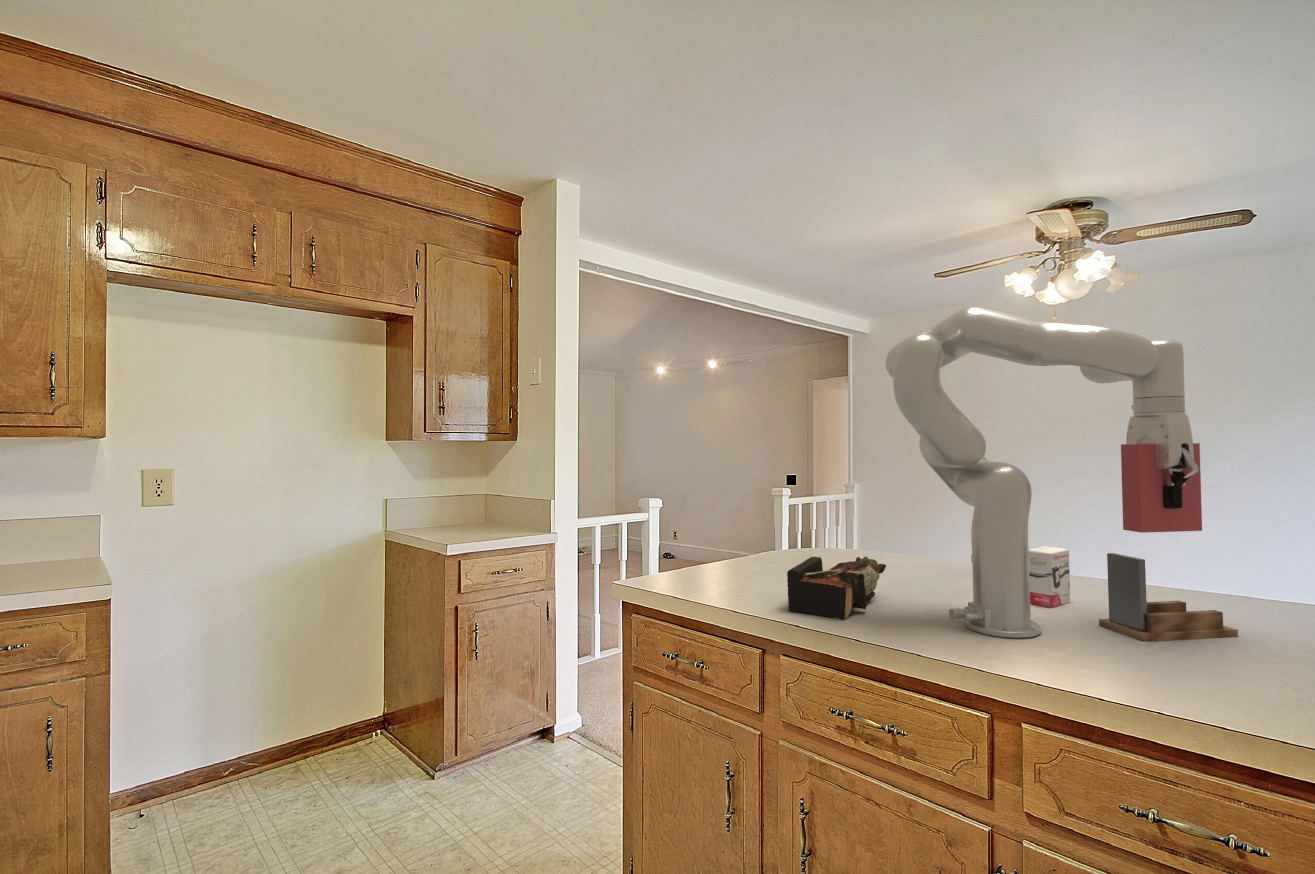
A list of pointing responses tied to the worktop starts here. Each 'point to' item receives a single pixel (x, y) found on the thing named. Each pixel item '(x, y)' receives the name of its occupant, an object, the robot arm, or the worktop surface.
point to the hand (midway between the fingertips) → (1161, 505)
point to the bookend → (832, 586)
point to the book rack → (1176, 623)
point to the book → (1156, 493)
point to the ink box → (1049, 576)
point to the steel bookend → (1127, 591)
